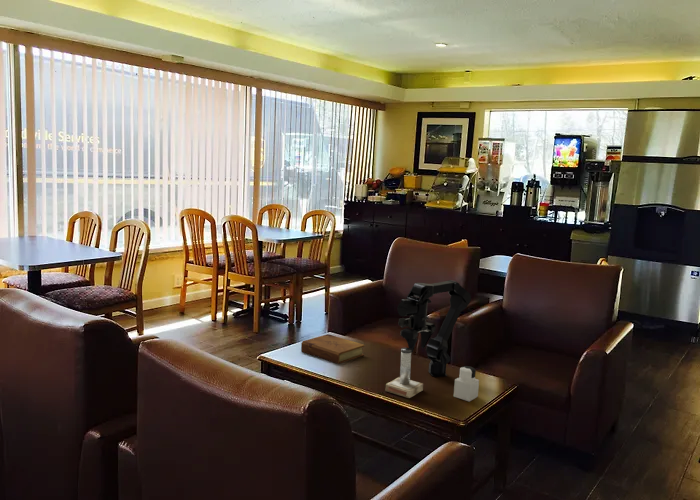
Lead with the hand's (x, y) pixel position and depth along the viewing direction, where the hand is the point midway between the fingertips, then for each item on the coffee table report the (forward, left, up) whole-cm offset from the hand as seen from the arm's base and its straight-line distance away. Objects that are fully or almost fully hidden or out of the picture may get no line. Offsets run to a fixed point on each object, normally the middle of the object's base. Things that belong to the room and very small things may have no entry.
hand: (417, 349), depth 240 cm
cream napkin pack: (+8, +12, -13) cm, 19 cm away
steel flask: (+8, +12, -10) cm, 17 cm away
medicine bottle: (-15, +19, -13) cm, 28 cm away
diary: (+30, -35, -14) cm, 48 cm away
